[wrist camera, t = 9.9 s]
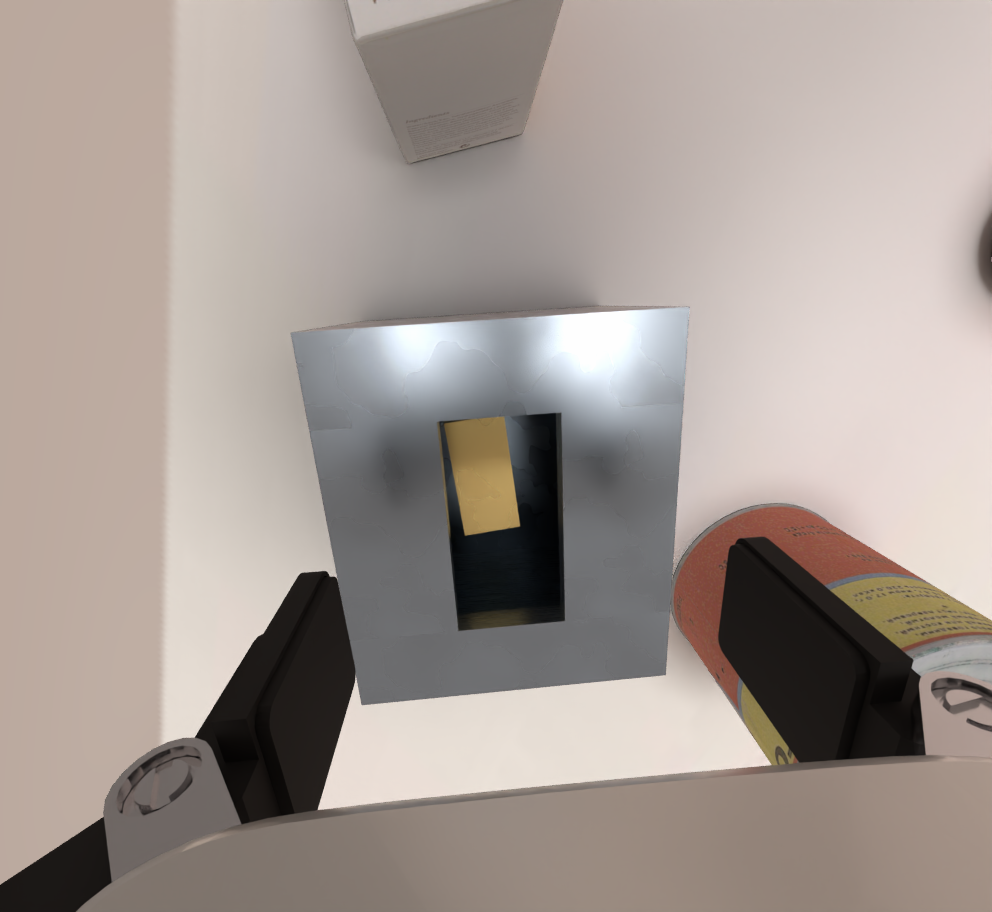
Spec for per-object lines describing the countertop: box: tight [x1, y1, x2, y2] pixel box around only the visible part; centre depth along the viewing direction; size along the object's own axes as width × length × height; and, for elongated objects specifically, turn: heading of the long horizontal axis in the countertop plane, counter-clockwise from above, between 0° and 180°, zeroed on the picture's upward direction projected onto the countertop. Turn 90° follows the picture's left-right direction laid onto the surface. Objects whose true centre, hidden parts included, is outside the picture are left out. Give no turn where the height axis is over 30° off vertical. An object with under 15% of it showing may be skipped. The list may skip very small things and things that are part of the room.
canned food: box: [671, 503, 992, 765], centre depth 24 cm, size 11×11×12 cm
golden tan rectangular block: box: [444, 417, 520, 536], centre depth 22 cm, size 5×2×6 cm, turn 8°
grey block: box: [291, 306, 690, 705], centre depth 21 cm, size 14×12×10 cm
